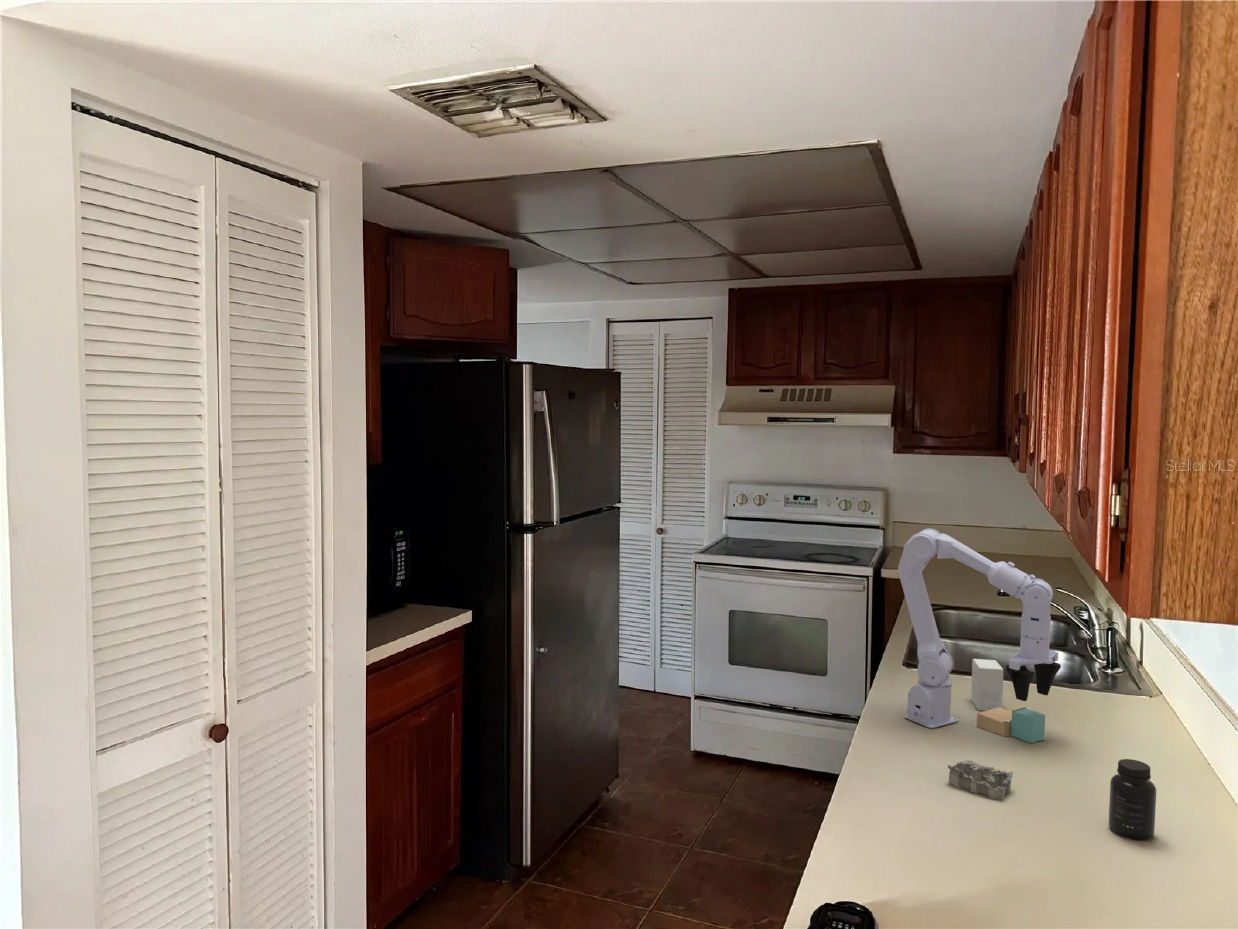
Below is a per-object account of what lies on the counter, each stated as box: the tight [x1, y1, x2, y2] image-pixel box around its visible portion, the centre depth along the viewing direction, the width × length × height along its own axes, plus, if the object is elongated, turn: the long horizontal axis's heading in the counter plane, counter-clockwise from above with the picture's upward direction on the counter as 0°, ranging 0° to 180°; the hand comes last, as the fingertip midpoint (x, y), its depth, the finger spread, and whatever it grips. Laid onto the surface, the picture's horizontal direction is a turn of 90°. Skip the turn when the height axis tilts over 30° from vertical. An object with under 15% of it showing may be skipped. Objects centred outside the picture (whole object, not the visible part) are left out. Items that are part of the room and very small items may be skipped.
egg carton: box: [947, 759, 1014, 800], centre depth 164 cm, size 11×8×4 cm
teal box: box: [1010, 706, 1046, 744], centre depth 188 cm, size 4×5×6 cm
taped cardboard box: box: [976, 707, 1012, 737], centre depth 194 cm, size 8×7×3 cm
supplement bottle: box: [1108, 758, 1157, 841], centre depth 147 cm, size 7×7×12 cm
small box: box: [970, 658, 1004, 712], centre depth 208 cm, size 8×6×10 cm
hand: (1032, 697), depth 187 cm, fingers open, 7 cm apart
